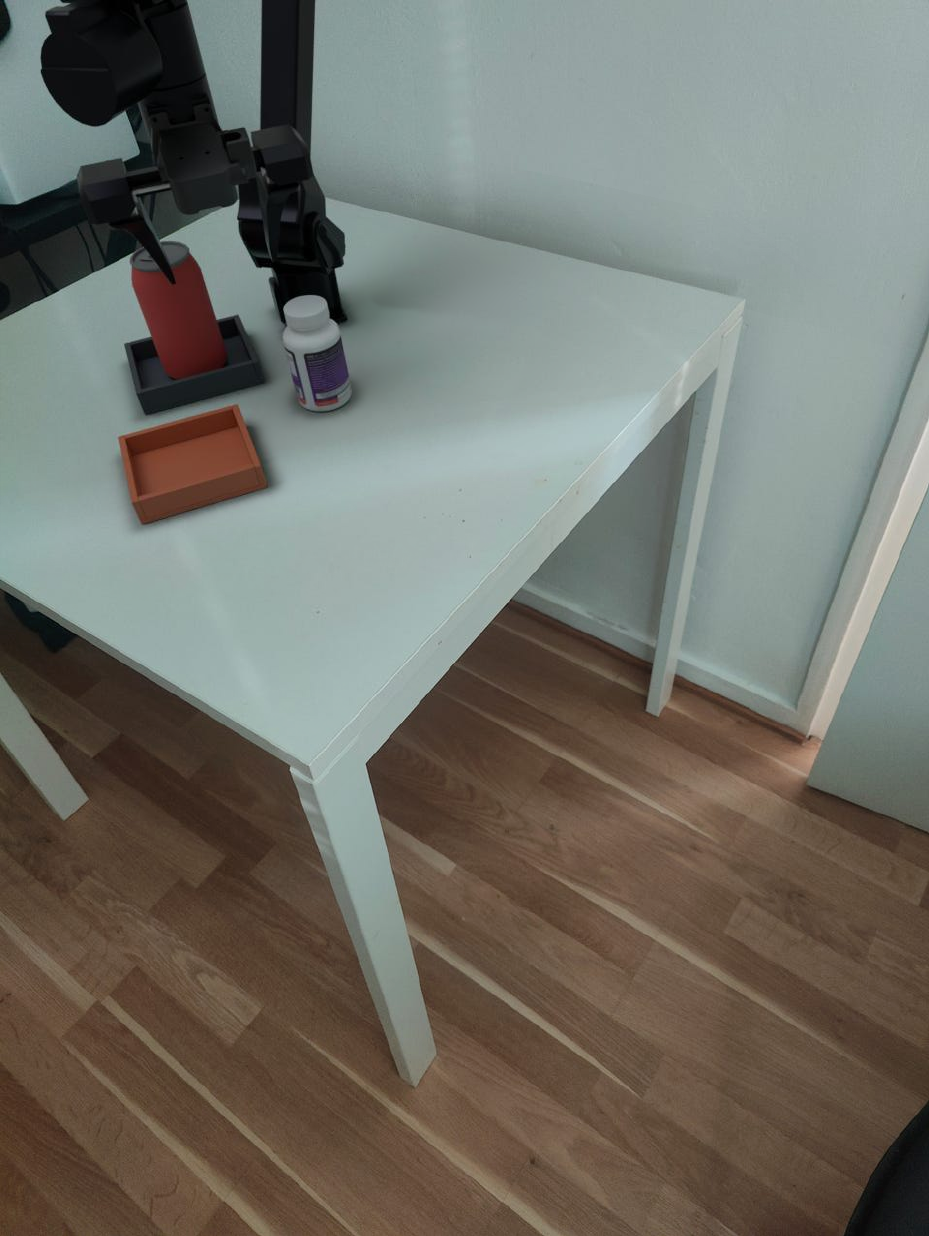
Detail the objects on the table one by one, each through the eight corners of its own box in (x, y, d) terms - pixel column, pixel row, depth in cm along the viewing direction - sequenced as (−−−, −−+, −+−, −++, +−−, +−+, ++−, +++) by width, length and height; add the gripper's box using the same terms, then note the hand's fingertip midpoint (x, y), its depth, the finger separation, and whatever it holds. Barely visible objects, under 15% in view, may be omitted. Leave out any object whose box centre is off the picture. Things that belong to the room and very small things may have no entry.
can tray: (244, 335, 94) (238, 314, 92) (265, 382, 88) (258, 360, 86) (132, 364, 92) (123, 343, 90) (145, 415, 85) (136, 393, 84)
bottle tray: (244, 425, 83) (237, 403, 81) (268, 487, 77) (261, 464, 75) (127, 458, 81) (117, 436, 79) (141, 524, 74) (131, 502, 73)
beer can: (170, 352, 92) (130, 241, 83) (232, 346, 92) (198, 234, 83) (160, 387, 88) (117, 274, 79) (225, 381, 88) (189, 267, 79)
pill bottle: (361, 385, 86) (344, 293, 79) (338, 416, 83) (319, 324, 76) (312, 378, 88) (291, 287, 80) (288, 409, 84) (264, 317, 77)
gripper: (49, 136, 60) (129, 338, 72) (308, 85, 64) (345, 286, 75) (44, 88, 67) (118, 279, 79) (278, 45, 71) (315, 235, 82)
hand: (224, 271), depth 79 cm, fingers open, 9 cm apart
